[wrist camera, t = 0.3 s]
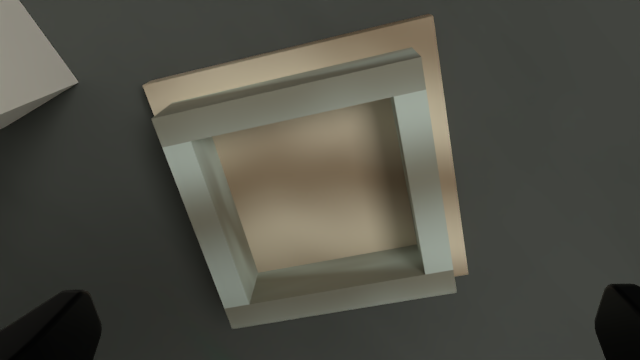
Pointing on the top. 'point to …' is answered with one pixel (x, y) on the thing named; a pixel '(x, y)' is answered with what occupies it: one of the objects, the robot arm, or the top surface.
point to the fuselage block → (27, 65)
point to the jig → (318, 173)
